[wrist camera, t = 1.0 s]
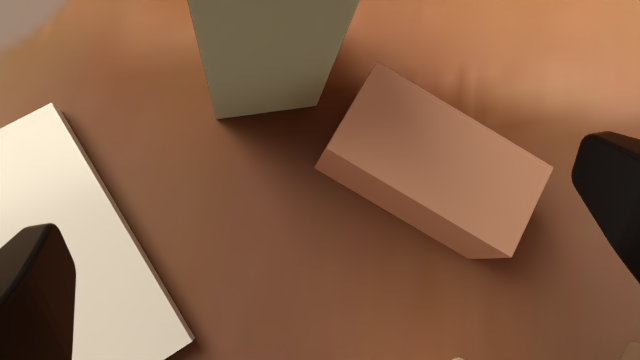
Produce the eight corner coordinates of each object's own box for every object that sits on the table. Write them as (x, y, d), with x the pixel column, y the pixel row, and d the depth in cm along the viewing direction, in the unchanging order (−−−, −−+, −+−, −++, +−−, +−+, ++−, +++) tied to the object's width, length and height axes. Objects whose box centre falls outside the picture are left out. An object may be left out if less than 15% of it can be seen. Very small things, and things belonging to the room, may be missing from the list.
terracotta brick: (503, 183, 23) (553, 167, 20) (466, 259, 23) (511, 257, 19) (355, 95, 23) (377, 61, 19) (313, 168, 22) (326, 148, 18)
